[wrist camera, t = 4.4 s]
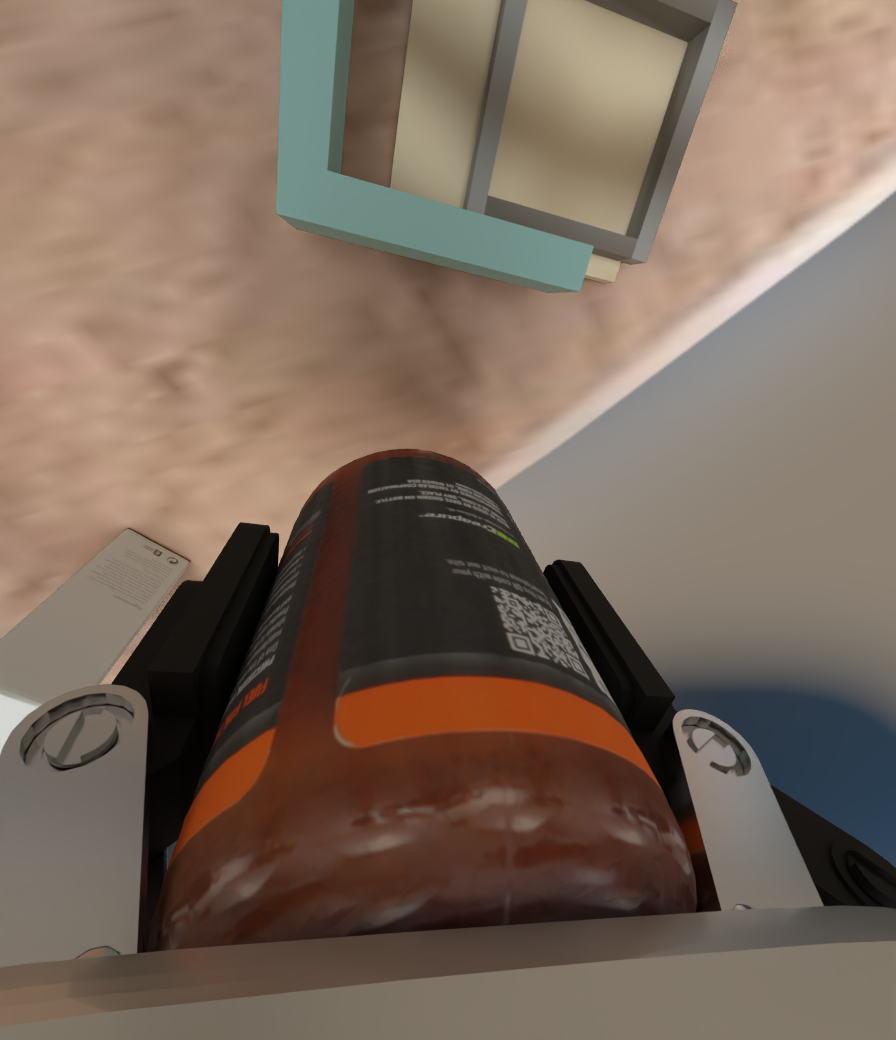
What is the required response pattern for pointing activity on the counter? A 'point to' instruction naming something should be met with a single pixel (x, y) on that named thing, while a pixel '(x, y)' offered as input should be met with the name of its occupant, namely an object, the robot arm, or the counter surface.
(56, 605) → the skincare box
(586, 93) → the housing base
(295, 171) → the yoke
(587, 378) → the counter surface
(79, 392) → the counter surface
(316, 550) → the supplement bottle
